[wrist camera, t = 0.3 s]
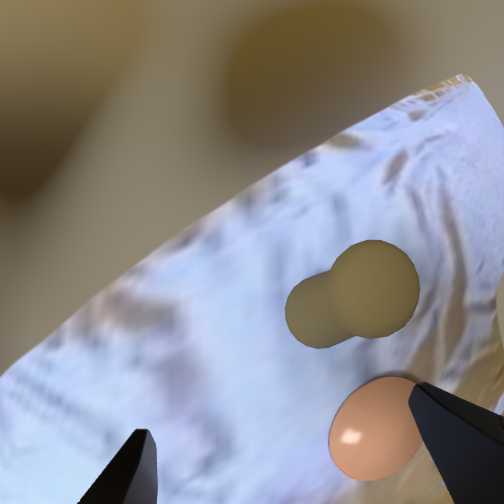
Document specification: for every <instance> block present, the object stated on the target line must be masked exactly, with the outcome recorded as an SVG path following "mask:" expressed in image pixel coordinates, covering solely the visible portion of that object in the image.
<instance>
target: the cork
mask: <svg viewBox="0 0 504 504" xmlns="http://www.w3.org/2000/svg"><path fill="white" fill-rule="evenodd" d="M419 292H420V285H419V279H418V274H417V272H416V269H415V267H414V265H413V263H412V261H411V260H410V259H409V257H408V256H407V255H406V253H404V252H403V251H402V250H400V249H399V248H398V247H396V246H395V245H393V244H390V243H387V242H384V241H381V240H366V241H363V242H360V243H357V244H354V245H352V246H350V247H349V248H348V249H347V250H345V251H344V252H343V253H342V254H341V255H340V256H339V257H338V258H337V259H336V261H335V262H334V264H333V266H332V268H331V269H330V270H329V271H326V272H324V273H321V274H318V275H316V276H313V277H310V278H308V279H305V280H302V281H301V282H300V283H299V284H298V285H296V286H295V287H294V288H293V290H292V291H291V293H290V294H289V296H288V299H287V302H286V306H285V317H286V322H287V325H288V327H289V330H290V332H291V333H292V334H293V335H294V337H295V338H296V339H297V340H298V341H300V342H301V343H303V344H304V345H306V346H309V347H313V348H317V349H320V348H329V347H331V346H334V345H336V344H338V343H340V342H343V341H345V340H347V339H349V338H351V337H354V336H359V337H364V338H368V339H372V338H380V337H387V336H389V335H391V334H393V333H395V332H396V331H398V330H400V329H401V328H403V327H404V326H405V325H406V323H407V322H408V321H409V320H410V319H411V317H412V316H413V313H414V311H415V309H416V306H417V304H418V301H419Z"/></svg>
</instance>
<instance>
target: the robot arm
mask: <svg viewBox="0 0 504 504" xmlns="http://www.w3.org/2000/svg"><path fill="white" fill-rule="evenodd" d="M408 405H409V408H410V410H411V413H412V415H413V418H414V420H415V423H416V425H417V428H418V430H419V433H420V435H421V437H422V439H423V441H424V443H425V445H426V447H427V449H428V451H429V453H430V455H431V457H432V459H433V461H434V463H435V465H436V466H437V468H438V470H439V472H440V474H441V476H442V478H443V481H444V483H445V485H446V487H447V489H448V491H449V493H450V495H451V497H452V499H453V501H454V504H504V417H503V416H501V415H498V414H496V413H494V412H491V411H489V410H487V409H484V408H482V407H480V406H477V405H475V404H473V403H471V402H468V401H466V400H464V399H462V398H459V397H457V396H455V395H453V394H451V393H448V392H446V391H444V390H442V389H440V388H438V387H435V386H433V385H431V384H429V383H427V382H421V383H418V384H416V385H414V387H413V389H412V392H411V394H410V397H409V399H408ZM157 493H158V479H157V450H156V444H155V441H154V439H153V437H152V435H151V433H150V431H149V430H148V429H135V430H134V432H133V433H132V434H131V435H130V437H129V438H128V439H127V441H126V442H125V443H124V444H123V446H122V447H121V448H120V450H119V451H118V452H117V454H116V455H115V456H114V457H113V459H112V460H111V461H110V463H109V464H108V465H107V466H106V468H105V469H104V470H103V471H102V473H101V474H100V475H99V477H98V478H97V479H96V480H95V482H94V483H93V484H92V485H91V487H90V488H89V489H88V491H87V492H86V493H85V494H84V496H83V497H82V498H81V499H80V502H78V503H77V504H157Z"/></svg>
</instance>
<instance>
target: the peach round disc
mask: <svg viewBox="0 0 504 504" xmlns="http://www.w3.org/2000/svg"><path fill="white" fill-rule="evenodd" d="M414 385H416V384H415V383H414V382H412V381H410V380H408V379H405V378H401V377H381V378H377V379H374V380H371V381H369V382H367V383H365V384H363V385H362V386H360V387H359V388H357V389H356V390H355V391H354V392H353V393H351V394H350V395H349V396H348V397H347V399H346V400H345V401H344V402H343V403H342V405H341V406H340V408H339V409H338V411H337V413H336V414H335V417H334V419H333V421H332V424H331V427H330V431H329V439H328V445H329V452H330V456H331V458H332V460H333V462H334V464H335V465H336V466H337V467H338V468H339V469H340V470H341V471H342V472H343V473H344V474H345V475H347V476H348V477H351V478H353V479H356V480H361V481H373V480H378V479H382V478H384V477H387V476H389V475H391V474H393V473H395V472H396V471H398V470H399V469H401V468H402V467H403V466H404V465H406V464H407V463H408V462H409V461H410V460H411V459H412V457H413V456H414V455H415V454H416V452H417V451H418V449H419V448H420V446H421V444H422V442H423V439H422V437H421V435H420V433H419V430H418V428H417V425H416V423H415V420H414V418H413V415H412V413H411V410H410V408H409V405H408V399H409V397H410V394H411V392H412V389H413V387H414Z"/></svg>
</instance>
